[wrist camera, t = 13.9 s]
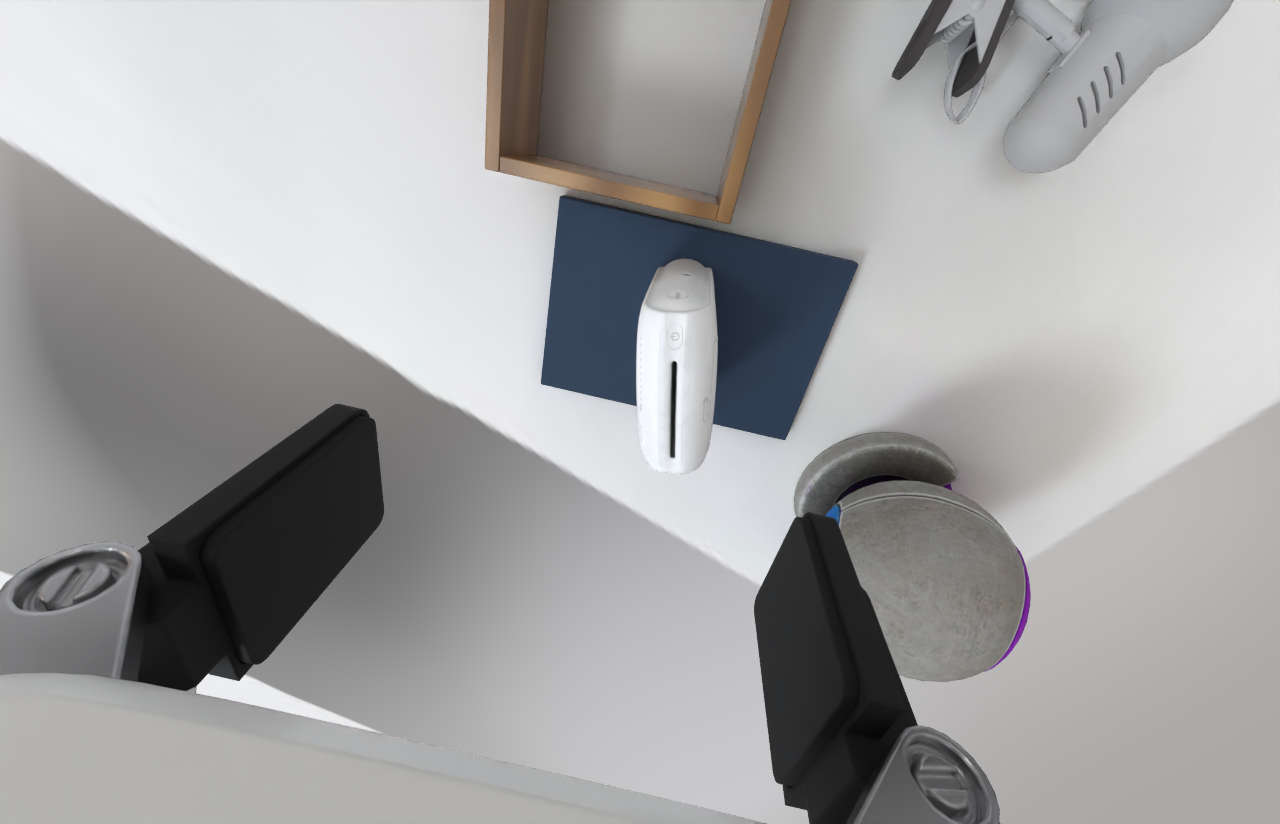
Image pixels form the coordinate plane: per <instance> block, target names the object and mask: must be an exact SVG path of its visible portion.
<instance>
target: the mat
mask: <svg viewBox="0 0 1280 824" xmlns="http://www.w3.org/2000/svg"><path fill="white" fill-rule="evenodd" d="M678 259H692V260H695V261H697V262H699V263H700V264H702V265H703V266H704V267H705V268H711V269H712V273H713V280H714V293H715V307H716V320H717V335H718V354H717V377H716V392H715V405H714V415H713V424H717V425H721V426H725V427H730V428H734V429H738V430H743V431H747V432H751V433H756V434H760V435H764V436H769V437H773V438H777V439H782V440H785V439H786V437H787V434H788V432H789V430H790V427H791V425H792V422H793V420H794V418H795V415H796V413H797V410H798V408H799V406H800V403H801V401H802V398H803V396H804V394H805V391H806V389H807V386H808V384H809V382H810V379H811V377H812V374H813V372H814V370H815V367H816V365H817V362H818V360H819V358H820V355H821V353H822V350H823V348H824V346H825V343H826V341H827V338H828V336H829V334H830V331H831V329H832V326H833V324H834V322H835V319H836V317H837V314H838V312H839V310H840V307H841V305H842V302H843V300H844V298H845V295H846V293H847V290H848V288H849V286H850V283H851V281H852V278H853V276H854V274H855V271H856V269H857V266H858V264H857V263H856V262H854V261H852V260H847V259H843V258H838V257H834V256H830V255H825V254H821V253H816V252H812V251H808V250H803V249H799V248H794V247H790V246H785V245H781V244H777V243H772V242H768V241H763V240H759V239H755V238H750V237H746V236H741V235H737V234H733V233H728V232H724V231H719V230H715V229H711V228H706V227H702V226H697V225H693V224H689V223H684V222H680V221H675V220H671V219H667V218H662V217H658V216H653V215H649V214H644V213H640V212H636V211H631V210H627V209H622V208H618V207H614V206H609V205H605V204H600V203H596V202H592V201H587V200H583V199H578V198H574V197H570V196H565V195H564V196H560V200H559V209H558V219H557V229H556V239H555V249H554V259H553V269H552V279H551V289H550V298H549V308H548V318H547V328H546V338H545V348H544V358H543V368H542V378H541V384H543V385H547V386H552V387H556V388H560V389H565V390H569V391H573V392H578V393H582V394H586V395H591V396H595V397H600V398H604V399H608V400H613V401H617V402H621V403H626V404H630V405H634V406H637V395H636V355H637V331H638V322H639V316H640V311H641V307H642V303H643V301H644V298H645V296H646V293H647V291H648V289H649V286H650V284H651V282H652V279H653V277H654V275H655V273H656V271H657V269H658V268H659V267H665V266H666V265H667V264H669V263H670V262H672V261H674V260H678Z"/></svg>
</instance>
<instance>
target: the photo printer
mask: <svg viewBox="0 0 1280 824" xmlns="http://www.w3.org/2000/svg"><path fill="white" fill-rule="evenodd" d="M717 354H718V335H717V320H716V307H715V293H714V280H713V273H712V269H711V268H705V267H704V266H703V265H702V264H700V263H699V262H697V261H695V260H692V259H678V260H674V261H672V262H670V263H669V264H667V265H666V266H665V267H659V268H658V269H657V271H656V273H655V275H654V277H653V279H652V282H651V284H650V286H649V289H648V291H647V293H646V296H645V298H644V301H643V303H642V307H641V311H640V316H639V322H638V331H637V355H636V395H637V419H638V431H639V440H640V445H641V449H642V453H643V456H644V458H645V460H646V462H647V464H648V465H649V466H650V467H651V468H653V469H654V470H656V471H658V472H661V473H668V472H671V473H678V474H681V475H683V474H687V473H690V472H692V471H694V470H696V469H697V468H698V467H699V466H700V465H701V464H702V462H703V461H704V458H705V456H706V453H707V451H708V449H709V445H710V439H711V432H712V425H713V415H714V405H715V392H716V377H717Z"/></svg>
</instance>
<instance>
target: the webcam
mask: <svg viewBox="0 0 1280 824" xmlns="http://www.w3.org/2000/svg"><path fill="white" fill-rule="evenodd" d="M959 477H960V475H959V473H958V471H957V469H956V468H955V466H954V465H953V464H952V462H951V461H950V460H949V458H948V457H947V456H946V455H945V454H944V453H943V452H942V451H941V450H940V449H938V448H937V447H936V446H934V445H933V444H931V443H929V442H927V441H925V440H923V439H920V438H918V437H914V436H911V435H906V434H901V433H872V434H866V435H861V436H857V437H853V438H850V439H848V440H845V441H843V442H840V443H838V444H836V445H834V446H832V447H830V448H829V449H827V450H826V451H824V452H823V453H822V454H820V455H819V456H818V457H816V458H815V459H814V460H813V461H812V462H811V463H810V464H809V465H808V467H807V468H806V469H805V471H804V472H803V474H802V475H801V477H800V479H799V481H798V483H797V486H796V490H795V495H794V509H795V514H796V517H803V516H804V514H806V513H807V512H811V513H815V514H820V515H824V516H828V517H833V518H835V519H836V521H837V523H838V525H839V528H840V531H841V533H842V536H843V539H844V541H845V544H846V547H847V550H848V552H849V555H850V558H851V560H852V563H853V566H854V569H855V571H856V574H857V577H858V580H859V582H860V585H861V587H862V588H863V589H864V590H865V591H866V592H867V594H868V596H869V598H870V600H871V603H872V605H873V608H874V611H875V613H876V616H877V618H878V621H879V624H880V626H881V629H882V632H883V634H884V637H885V640H886V642H887V645H888V648H889V650H890V653H891V656H892V658H893V661H894V664H895V666H896V669H897V672H898V674H899V675H901V676H904V677H907V678H911V679H916V680H921V681H936V682H948V681H954V680H961V679H965V678H968V677H972V676H974V675H977V674H979V673H981V672H984V671H987V670H990V669H992V668H994V667H995V666H996V665H998V664H999V663H1000V662H1001V661H1002V660H1003V659H1005V658H1006V657H1007V655H1008V654H1009V653H1010V652H1011V651H1012V650H1013V648H1014V647H1015V645H1016V644H1017V642H1018V641H1019V639H1020V637H1021V635H1022V633H1023V630H1024V627H1025V625H1026V623H1027V619H1028V613H1029V608H1030V584H1029V577H1028V573H1027V569H1026V566H1025V563H1024V560H1023V557H1022V555H1021V553H1020V551H1019V550H1018V548H1017V547H1016V546H1015V545H1014V543H1013V542H1012V540H1011V539H1010V537H1009V536H1008V534H1007V533H1006V532H1005V530H1004V529H1003V527H1002V526H1001V525H1000V524H999V523H998V522H997V521H996V520H995V519H994V518H993V517H992V516H991V515H990V514H989V513H988V512H987V511H985V510H984V509H983V508H982V507H980V506H979V505H978V504H976V503H975V502H973V501H971V500H970V499H968V498H966V497H964V496H963V495H961V494H959V493H956V492H954V491H952V489H951V484H950V483H952V482H954V481H957V480H958V479H959Z"/></svg>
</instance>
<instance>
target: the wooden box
mask: <svg viewBox="0 0 1280 824" xmlns="http://www.w3.org/2000/svg"><path fill="white" fill-rule="evenodd" d="M790 3H791V0H766V3H765V7H764V11H763V15H762V19H761V23H760V27H759V31H758V35H757V39H756V43H755V47H754V51H753V55H752V59H751V63H750V67H749V71H748V75H747V78H746V82H745V86H744V90H743V94H742V98H741V102H740V106H739V110H738V114H737V118H736V122H735V126H734V130H733V134H732V138H731V142H730V146H729V150H728V154H727V158H726V162H725V166H724V170H723V173H722V177H721V181H720V185H719V189H718V193H717V196H715V195H711V194H706V193H702V192H697V191H693V190H689V189H684V188H680V187H675V186H671V185H666V184H662V183H658V182H653V181H649V180H644V179H640V178H636V177H631V176H627V175H622V174H618V173H613V172H609V171H605V170H600V169H596V168H591V167H587V166H583V165H578V164H574V163H569V162H565V161H560V160H556V159H552V158H547V157H543V156H538V155H537V145H538V132H539V118H540V105H541V92H542V79H543V66H544V52H545V39H546V26H547V13H548V0H490V2H489V38H488V74H487V109H486V145H485V169H488V170H492V171H496V172H501V173H505V174H510V175H514V176H519V177H523V178H527V179H532V180H536V181H541V182H545V183H549V184H554V185H558V186H563V187H567V188H572V189H576V190H580V191H585V192H589V193H594V194H598V195H602V196H607V197H611V198H616V199H620V200H624V201H629V202H633V203H638V204H642V205H646V206H651V207H655V208H660V209H664V210H669V211H673V212H677V213H682V214H686V215H691V216H695V217H699V218H704V219H708V220H713V221H715V220H716V221H717V222H721V223H726V224H730V223H731V219H732V216H733V212H734V208H735V205H736V201H737V197H738V194H739V190H740V186H741V183H742V179H743V175H744V172H745V168H746V164H747V161H748V157H749V153H750V150H751V146H752V142H753V139H754V135H755V131H756V128H757V124H758V120H759V117H760V113H761V109H762V106H763V102H764V98H765V95H766V91H767V87H768V84H769V80H770V76H771V73H772V69H773V65H774V62H775V58H776V54H777V51H778V47H779V43H780V40H781V36H782V32H783V29H784V25H785V21H786V18H787V14H788V10H789V7H790Z"/></svg>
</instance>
